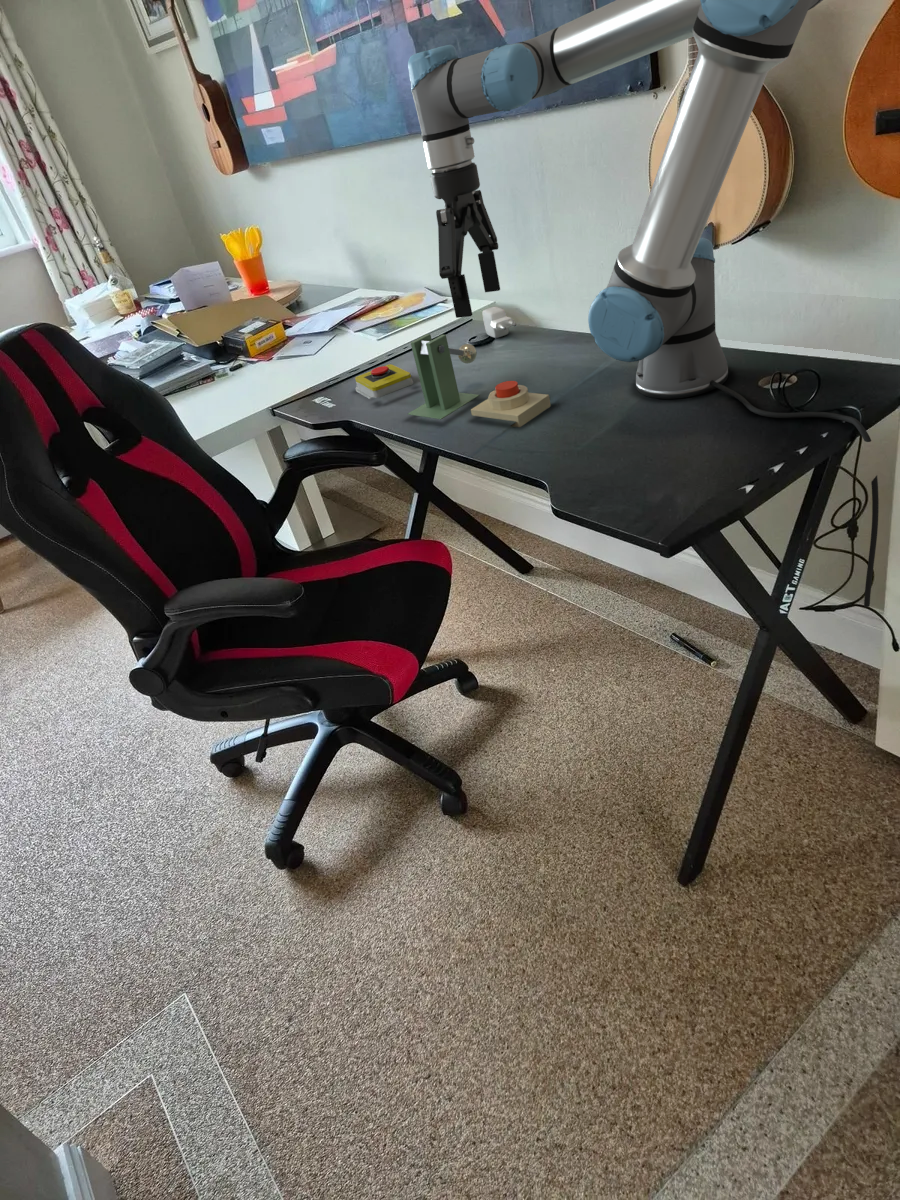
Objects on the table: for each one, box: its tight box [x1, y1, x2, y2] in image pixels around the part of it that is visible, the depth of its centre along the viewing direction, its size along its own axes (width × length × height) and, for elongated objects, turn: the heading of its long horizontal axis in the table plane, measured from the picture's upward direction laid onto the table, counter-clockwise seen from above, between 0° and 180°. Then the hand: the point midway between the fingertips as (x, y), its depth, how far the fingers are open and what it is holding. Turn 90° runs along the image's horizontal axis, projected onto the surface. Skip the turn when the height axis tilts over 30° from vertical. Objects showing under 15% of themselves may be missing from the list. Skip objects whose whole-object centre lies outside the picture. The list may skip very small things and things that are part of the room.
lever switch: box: [420, 341, 478, 364], centre depth 145 cm, size 13×4×4 cm, turn 138°
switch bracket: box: [407, 333, 480, 420], centre depth 145 cm, size 11×9×14 cm
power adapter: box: [481, 306, 517, 339], centre depth 176 cm, size 11×5×6 cm, turn 22°
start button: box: [494, 380, 519, 398], centre depth 137 cm, size 4×4×2 cm
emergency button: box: [355, 363, 414, 400], centre depth 164 cm, size 9×4×15 cm
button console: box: [470, 384, 552, 428], centre depth 139 cm, size 11×9×4 cm
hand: (479, 303), depth 134 cm, fingers open, 13 cm apart
